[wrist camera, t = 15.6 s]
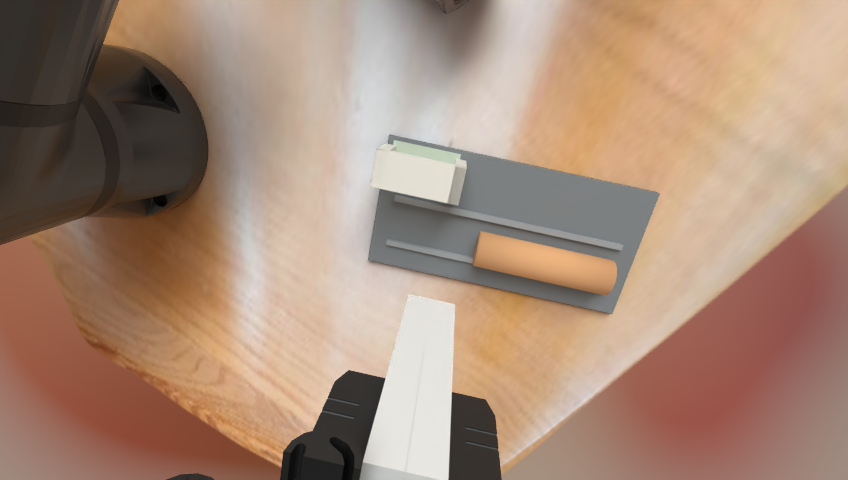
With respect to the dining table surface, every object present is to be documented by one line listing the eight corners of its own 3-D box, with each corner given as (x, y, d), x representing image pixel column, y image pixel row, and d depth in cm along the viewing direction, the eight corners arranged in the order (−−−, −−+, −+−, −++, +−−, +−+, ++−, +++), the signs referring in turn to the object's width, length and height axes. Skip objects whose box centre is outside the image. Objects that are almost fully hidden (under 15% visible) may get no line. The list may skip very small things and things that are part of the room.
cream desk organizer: (386, 143, 37) (376, 149, 33) (466, 160, 37) (466, 168, 33) (380, 176, 38) (370, 186, 34) (458, 193, 38) (458, 205, 34)
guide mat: (369, 257, 42) (367, 261, 41) (390, 134, 38) (388, 135, 37) (610, 310, 41) (613, 315, 40) (656, 192, 37) (661, 194, 36)
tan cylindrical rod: (473, 249, 40) (471, 273, 38) (482, 223, 38) (480, 247, 36) (597, 277, 40) (603, 302, 38) (613, 253, 38) (619, 278, 36)
